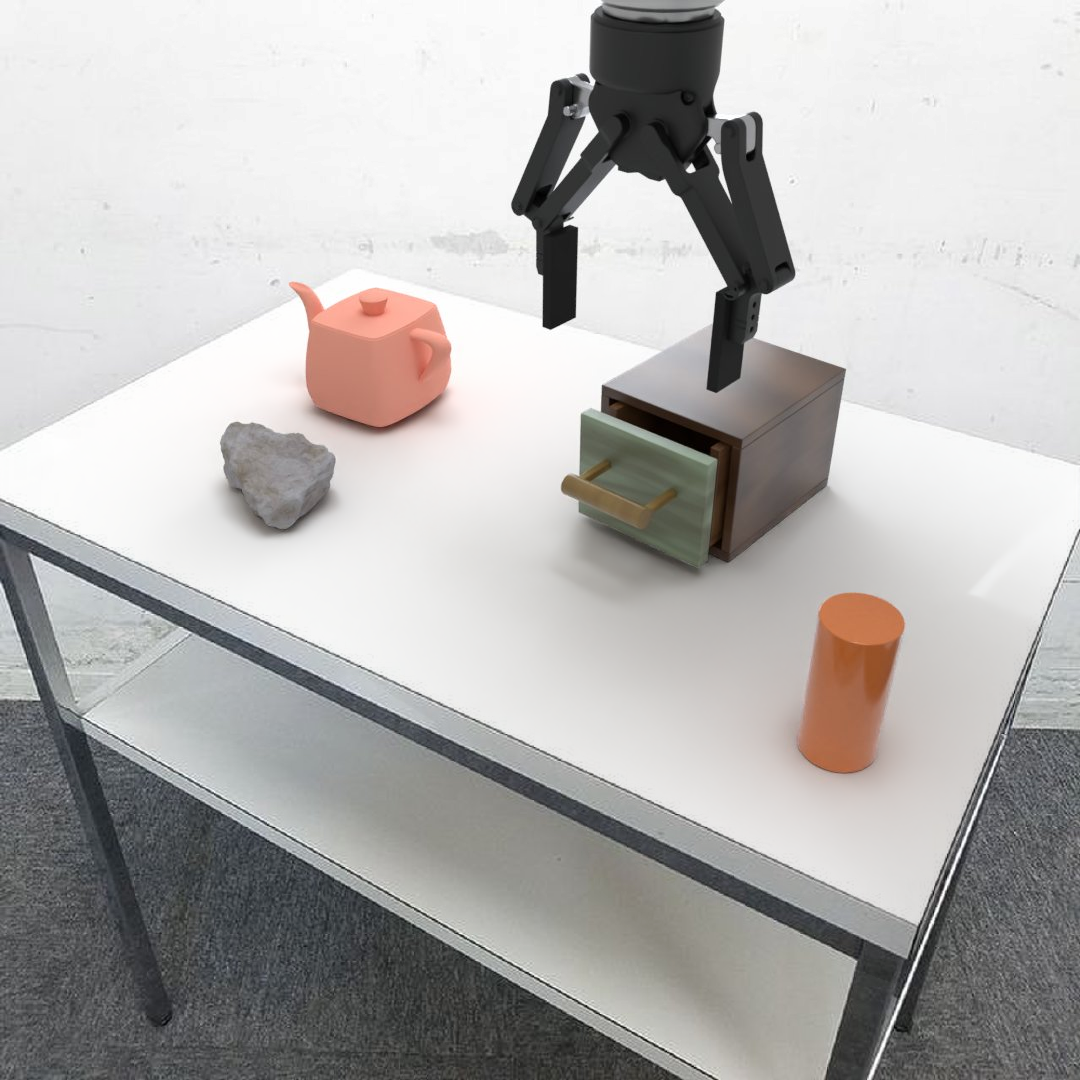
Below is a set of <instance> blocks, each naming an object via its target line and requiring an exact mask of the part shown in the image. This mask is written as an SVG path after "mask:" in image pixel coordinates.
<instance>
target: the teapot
mask: <svg viewBox="0 0 1080 1080" xmlns="http://www.w3.org/2000/svg"><path fill="white" fill-rule="evenodd" d="M288 285H289V287H290V288H291V289H292V290H293V291H294V292H295V293H296V294H297V295H298V297H299V298H300V300H301V302H302V305H303V306H304V310H305V313H306V321H307V326H308V327H307V328H308V337H307V343H306V353H305V385H306V390H307V393H308V394H309V397H310V399H311V401H312V403H313V404H314V406H316V407H317V408H319V409H321V410H324V411H326V412H329V413H331V414H334V415H337V416H340V417H343V418H345V419H349V420H351V421H355V422H358V423H361V424H364V425H367V426H372V427H375V428H377V427H379V428H384V427H387V426H390V425H393V424H395V423H398V422H400V421H401V420H403V419H405V418H407V417H409V416H411V415H413V414H414V413H416V412H418V411H420V410H421V409H423V408H425V407H426V406H427V405H429V404H430V403H431V402H432V401H434V400H435V399H436V398H437V397H438V396H440V395H441V394H442V393H443V392H444V391H446V389H447V387H448V384H449V383H450V378H451V374H452V358H451V354H452V344H451V342H450V340H449V339H448V335H447V333H446V329H445V326H444V323H443V320H442V316H441V314H440V313H441V312H440V311H439V308H438V306H437V305H436V304H435V302H432V301H429V300H426V299H423V298H420V297H417V296H416V297H415V296H412V295H410V294H406V293H402V292H398V291H395V290H391V289H390V290H389V289H387V288H381V287H371V288H367V289H365V290H361V291H360V292H356V293H354V294H352V295H350V296H348V297H346V298H344V299H341V300H339V301H338V302H336V303H334V304H332V305H331V306H329V307H327V308H325V307H324V306H323V303H322V301H321V300H320V298H319V297H318V295H317V293H316V292H315V291H314V290H313V289H312V288H311V287H310V286H308V285H306V284H305V283H302V282H298V281H290V282H288Z"/></svg>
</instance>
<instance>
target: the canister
mask: <svg viewBox="0 0 1080 1080" xmlns="http://www.w3.org/2000/svg"><path fill="white" fill-rule="evenodd" d="M905 628H906V622H905V619H904V616H903V614H902V613H901V611H900V610H899V609H898V608H897V607H896V606H895V605H893V604H892V603H890V602H889V601H887V600H885V599H884V598H882V597H878V596H876V595H874V594H868V593H863V592H841V593H837V594H835V595H832V596H830V597H828V598H827V599H824V601H823V602H822V603H821V605H820V606H819V608H818V613H817V618H816V626H815V631H814V636H813V642H812V648H811V652H810V653H811V654H810V659H809V666H808V672H807V678H806V683H805V688H804V695H803V701H802V702H803V703H802V708H801V714H800V718H799V725H798V730H797V736H796V739H797V740H796V742H797V746H798V749H799V751H800V752H801V754H802V755H803V757H804V758H806V759H807V760H808V762H810V763H811V764H813V765H815V766H817V767H818V768H821V769H823V770H825V771H828V772H832V773H841V774H848V773H849V774H850V773H856V772H859V771H862V770H864V769H866V768H867V767H869V766H870V765H872V764H873V762H874V761H875V759H876V757H877V752H878V748H879V743H880V739H881V735H882V731H883V726H884V721H885V717H886V713H887V710H888V709H887V708H888V703H889V699H890V695H891V691H892V687H893V682H894V678H895V673H896V668H897V664H898V661H899V660H898V659H899V656H900V651H901V650H900V649H901V646H902V641H903V638H904V633H905Z"/></svg>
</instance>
